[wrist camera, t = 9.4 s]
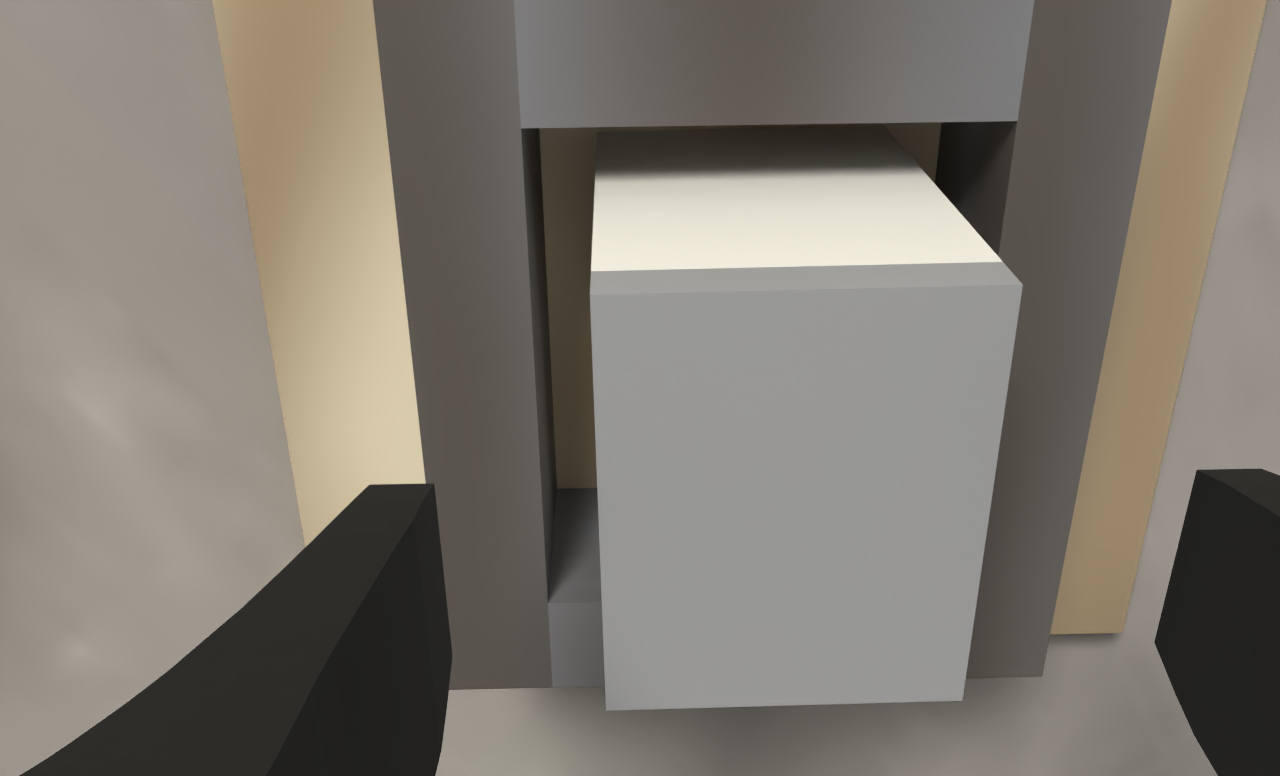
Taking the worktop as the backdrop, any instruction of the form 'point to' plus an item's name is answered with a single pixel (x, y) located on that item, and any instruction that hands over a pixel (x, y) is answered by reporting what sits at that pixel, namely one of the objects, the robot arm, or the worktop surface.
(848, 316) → the plug
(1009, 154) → the socket
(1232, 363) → the worktop surface
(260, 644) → the robot arm
